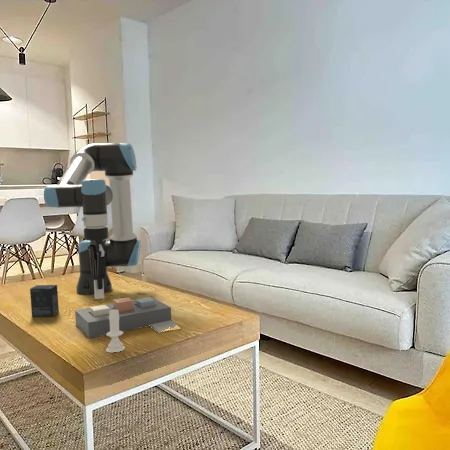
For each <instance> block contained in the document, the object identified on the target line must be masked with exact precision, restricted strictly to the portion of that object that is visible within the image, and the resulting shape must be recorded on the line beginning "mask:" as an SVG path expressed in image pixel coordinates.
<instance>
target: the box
mask: <svg viewBox="0 0 450 450" xmlns="http://www.w3.org/2000/svg"><path fill="white" fill-rule="evenodd" d="M29 294H30V306H31V317H32V318H38V317H40V318H41V317H54V316H55V315H57V314H58V313H60V312H59V311H60V310H59V296H58V295H59V292H58V285H57V284H41V285H40V284H36V285H34V286H33V287H31V288H29Z"/></svg>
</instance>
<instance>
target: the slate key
mask: <svg viewBox="0 0 450 450" xmlns="http://www.w3.org/2000/svg"><path fill="white" fill-rule="evenodd" d="M135 300H136V306H138V307H139V308H145V307H151V306H155V300H153V299H151V297H144V298H136V299H135Z"/></svg>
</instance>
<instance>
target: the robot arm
mask: <svg viewBox="0 0 450 450" xmlns="http://www.w3.org/2000/svg"><path fill="white" fill-rule="evenodd" d="M136 159H137V158H136V154H135V149H134V147H133V145H132V144H130V143H128V142H102V143H100V142H95V143H89V144H87V145H85V146H83V147H81V148H80V149H78V150H77V151H75V152H74V154H73V155H72V156H71V158H70V161H69V163H70V164H69V166H68V167H67V169H66V170H65V172H64V174H63V175H62V176H61V177H60V179H59V181H57V184H51V185H47V186H45V188H44V190H43V199H44V204H45V206H47V207H48V208H57V209H59V208H80V207H81V208H82V215H83V216H82V218H81V221H82V222H83V227H84V228H83V237H84V240H82V241H80V242H79V243H78V251H77V252H78V261H79V264H78V265H79V276H78V280H77V285H76V293H78V294H79V295H94V299H95V300H100V299H105V293H107V292H110V291H111V290H112V289H113V284H112V281H111V279H110V277H109V274H108V268H109V267H110V268H111V267H112V268H114V267H115V268H116V267H117V268H118V267H126V268H127V267H134V266H137V265H138V263H139V261H140V255H141V248H142V247H141V240H140V239H138V237H137V235H136V234H135V232H134V228H133V213H132V212H133V211H132V210H133V209H132V195H131V178H132V176H133V175H134V171H135V172H136V170H137V160H136ZM92 172H104V175H105V177H106V178H107V179H108V181H109V185H107V184H106V180H105V179H103V178H98V179H97V178H91V179H89V178H88V179H86V178H87V177H88V175H90V174H91V173H92ZM108 205H110V208H111V209H110V210H111V211H110V212H111V224H112V234H111V236H109V228H108V227H107V226H108V225H109V221H108V220H109V218H108V207H107V206H108ZM108 238H109V240H107V239H108ZM112 291H113V290H112Z"/></svg>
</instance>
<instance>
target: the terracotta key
mask: <svg viewBox="0 0 450 450" xmlns="http://www.w3.org/2000/svg"><path fill="white" fill-rule="evenodd" d="M112 301H113V303H112V304H114V309H116V310H118V311H119V312H123V311H128V310H133V300H132V299H130V298H129V297H122V298H116V299H113V300H112Z"/></svg>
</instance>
